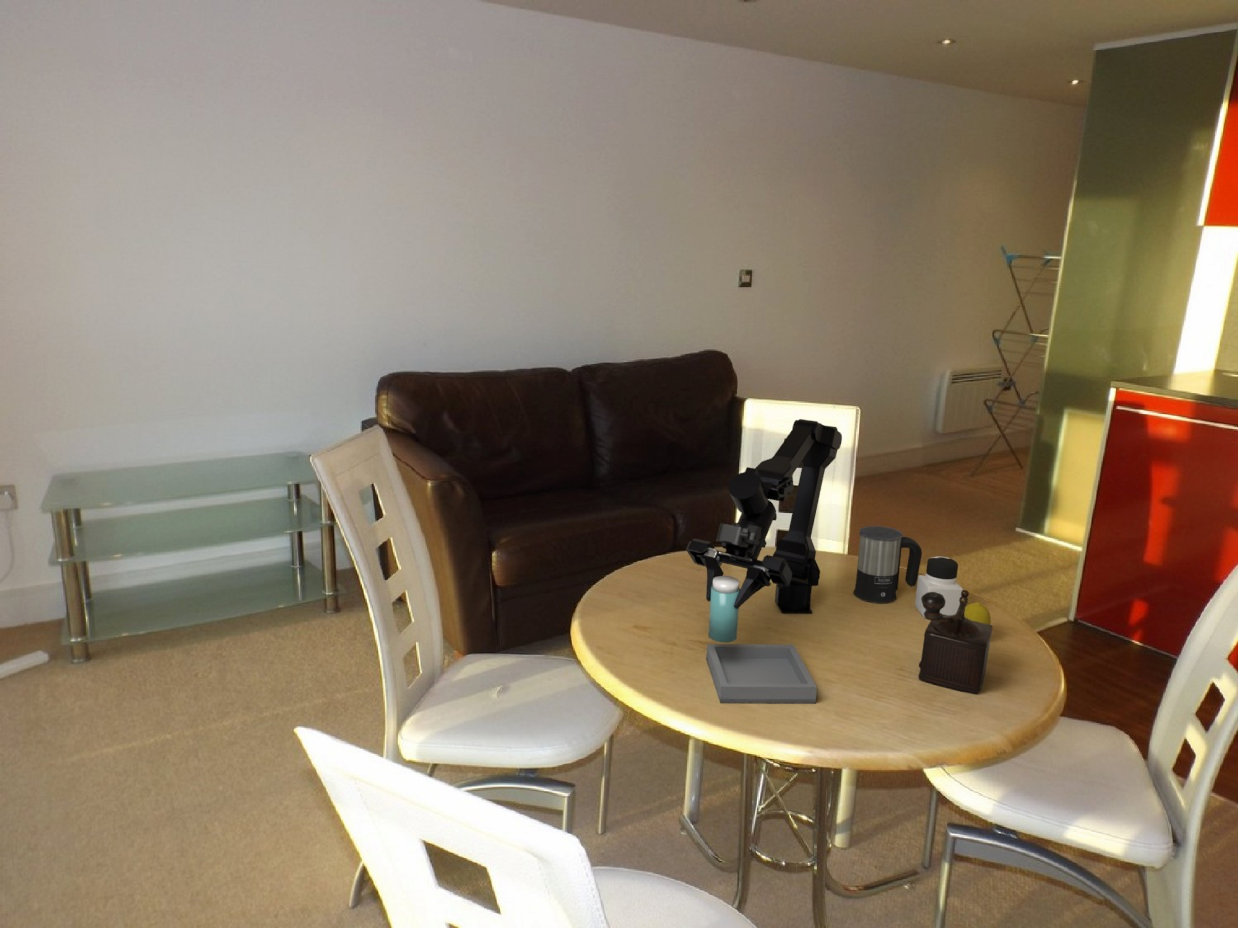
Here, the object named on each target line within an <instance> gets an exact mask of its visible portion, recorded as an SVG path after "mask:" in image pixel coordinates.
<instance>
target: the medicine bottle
mask: <svg viewBox="0 0 1238 928" xmlns="http://www.w3.org/2000/svg"><path fill="white" fill-rule="evenodd" d="M925 569H926V572H925V575H924V574H920V575H919V574H918V578H917V583H916V593H915V599H914V606H915V608H916V609H917V610H918V612H919V613H920V614H921V616H922V617H923V619H925V620H927V619H926V618H925V616H924V612H925V610H926V609H925V608H924V607H923V604H922V600H921V598H922V596H923V595H924V594H926V593H928V592H936V593H939V594H941V595H943V597H944V599H945V601H946V602H945V607H943V608H942V609H941V610H940V613H942V614H944V615H948V616H949V615H955V614H956V613H957V610H958V608H959V605H960V602H959V599H960V597H962V596H961V592H962V591H963V590H964V589H963V587H962V586H961V585H960V584H959V582H957V578H958V569H959V563H958V562H957V561H956V560H954V559H952V558H951V557H947V556H933V557H932V556H931V557H929V558H928V559H927V562H926V568H925Z"/></svg>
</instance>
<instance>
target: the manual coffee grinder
mask: <svg viewBox="0 0 1238 928" xmlns="http://www.w3.org/2000/svg"><path fill="white" fill-rule="evenodd" d="M969 595H970V593H969V591H968V590H967V589H963V591H962V592H961V596H962V597H960V599H959V602H960V605H959V608H958V610H957V613H956V614H955V615H949V616H948V615H944V614H942V613H940V610H941V609H942V608H943V607H945V602H946V601H945V599H944V597H943V595H941V594H939V593H936V592H928V593H926V594H924V595H923V596H922V598H921V600H922V604H923V607H924V608H925V609H926V610H925V612H924V616H925V618H926V619H925V618H924V619H925V620H928V621H929V623H928V624H927V626H926V628H925V632H924V636H923V644H922V651H921V659H920V661H919V663H918V668H919V673H918V680H920V681H922V682H925V683H928V684H930V685H934V686H936V687H937V686H938V687H942V688H945V689H949V690H954V691H957V692H961V693H965V694H970V695H976V696H977V695H979V694H980V693H981V690H982V688H983V684H984V681H985V676H986V672H987V664H988V657H989V652H990V646H991V645H990V644H991V638H992V631H993V628H994V627H993V625H992V624H990V625H988V624H984V623H980V622H976V621H971V620H969V619H968V618H965V616H964V613H965V607H966V606H967V605H968V604H969Z"/></svg>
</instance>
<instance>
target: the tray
mask: <svg viewBox="0 0 1238 928" xmlns="http://www.w3.org/2000/svg"><path fill="white" fill-rule="evenodd" d="M705 659H706V663H707V666H708V668H709V674H710V676H711V678H712V681H713V682H712V683H713V684H714V688H715V691H716V694H717V697H718V701H719V703H720V704H801V705H803V704H811V705H812V704H813V705H814V704H816V703H817V692H818V686H817V685H816V682H815V681H814V679H813V677H812V675H811V674H810V672H809V670H808V668H807V666H806V664H805V662H804V661H803V659H802V657H801V655H800V653H799V651H798V649H797V648H796V645H794V644H766V643H765V644H764V643H763V644H758V643H757V644H755V643H754V644H751V643H750V644H747V643H746V644H744V643H742V644H741V643H739V644H737V643H733V644H732V643H707V644H706V657H705Z"/></svg>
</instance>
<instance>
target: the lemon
mask: <svg viewBox="0 0 1238 928" xmlns="http://www.w3.org/2000/svg"><path fill="white" fill-rule="evenodd" d="M964 616H965V618H968V619H969V620H971V621H976V622H980V623H984V624H988V625H992V624H991V622H992V621H991V620H992V619H991V613H990V611H989V609H988V608H987V607H986V606H985V605H984V604H982V603H981V602H980V601H976V602H972V603H968V604H967V605H966V607H965V613H964Z"/></svg>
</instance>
